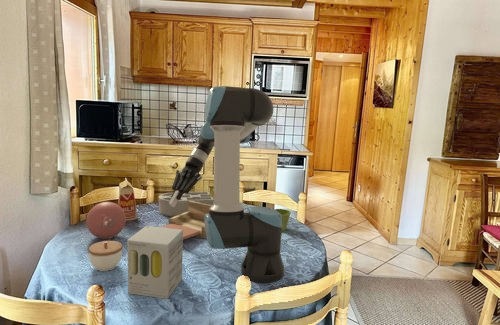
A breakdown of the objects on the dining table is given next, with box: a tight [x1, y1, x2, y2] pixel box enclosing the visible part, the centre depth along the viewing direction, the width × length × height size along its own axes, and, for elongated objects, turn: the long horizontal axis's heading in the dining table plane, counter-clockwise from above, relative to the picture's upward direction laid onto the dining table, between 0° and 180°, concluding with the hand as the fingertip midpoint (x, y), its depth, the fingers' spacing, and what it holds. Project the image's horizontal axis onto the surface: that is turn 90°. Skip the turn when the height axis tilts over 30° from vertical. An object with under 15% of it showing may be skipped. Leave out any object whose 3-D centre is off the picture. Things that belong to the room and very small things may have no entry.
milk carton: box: [117, 177, 138, 222], centre depth 171 cm, size 9×9×20 cm
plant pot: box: [273, 208, 292, 232], centre depth 168 cm, size 9×9×9 cm
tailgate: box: [161, 223, 200, 241], centre depth 150 cm, size 2×16×12 cm
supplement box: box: [127, 225, 184, 300], centre depth 110 cm, size 13×13×18 cm
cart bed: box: [168, 201, 212, 239], centre depth 163 cm, size 16×20×10 cm
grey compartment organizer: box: [158, 191, 214, 217], centre depth 188 cm, size 17×28×9 cm, turn 107°
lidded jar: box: [88, 240, 123, 272], centre depth 121 cm, size 11×11×9 cm
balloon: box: [85, 201, 127, 240], centre depth 144 cm, size 15×20×15 cm
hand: (171, 205), depth 145 cm, fingers closed
